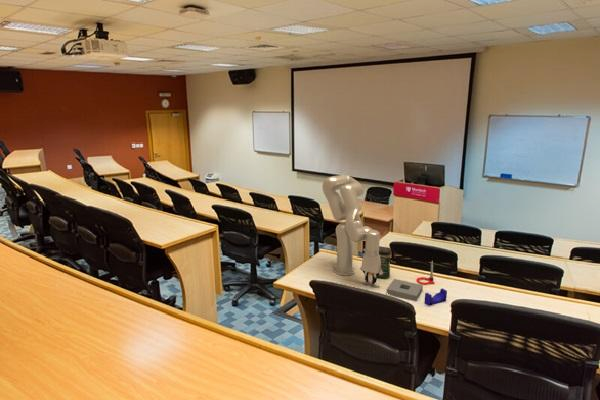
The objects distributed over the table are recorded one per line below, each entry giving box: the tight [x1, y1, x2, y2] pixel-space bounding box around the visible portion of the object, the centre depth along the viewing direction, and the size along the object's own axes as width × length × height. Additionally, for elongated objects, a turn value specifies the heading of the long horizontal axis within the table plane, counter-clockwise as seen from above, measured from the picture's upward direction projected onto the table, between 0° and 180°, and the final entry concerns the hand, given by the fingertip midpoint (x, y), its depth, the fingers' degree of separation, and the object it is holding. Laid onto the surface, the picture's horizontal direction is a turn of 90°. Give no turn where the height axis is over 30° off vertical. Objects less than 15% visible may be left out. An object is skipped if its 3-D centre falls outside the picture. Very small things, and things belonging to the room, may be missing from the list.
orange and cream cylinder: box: [367, 272, 375, 287], centre depth 212 cm, size 4×4×8 cm
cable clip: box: [423, 288, 448, 307], centre depth 194 cm, size 12×4×6 cm, turn 115°
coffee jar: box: [377, 245, 392, 280], centre depth 221 cm, size 10×8×19 cm
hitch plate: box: [386, 278, 424, 302], centre depth 204 cm, size 16×14×3 cm
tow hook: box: [416, 260, 435, 286], centre depth 215 cm, size 8×13×9 cm
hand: (370, 281), depth 212 cm, fingers closed on orange and cream cylinder, 3 cm apart
